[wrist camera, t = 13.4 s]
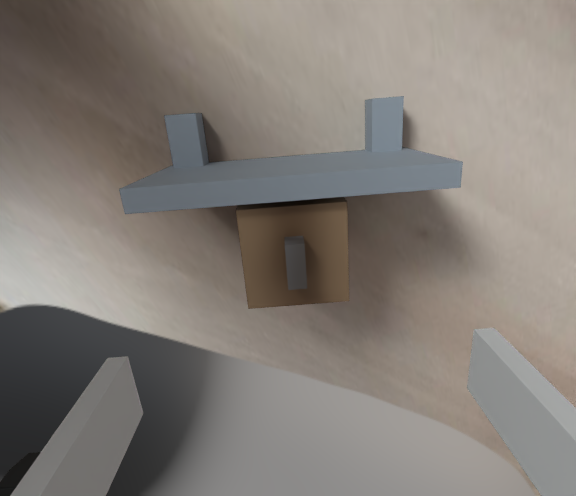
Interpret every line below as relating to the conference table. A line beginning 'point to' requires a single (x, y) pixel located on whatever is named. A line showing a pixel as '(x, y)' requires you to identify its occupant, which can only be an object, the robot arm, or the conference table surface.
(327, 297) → the cabinet block
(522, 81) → the conference table surface
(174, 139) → the wall board
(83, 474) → the robot arm
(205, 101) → the conference table surface
